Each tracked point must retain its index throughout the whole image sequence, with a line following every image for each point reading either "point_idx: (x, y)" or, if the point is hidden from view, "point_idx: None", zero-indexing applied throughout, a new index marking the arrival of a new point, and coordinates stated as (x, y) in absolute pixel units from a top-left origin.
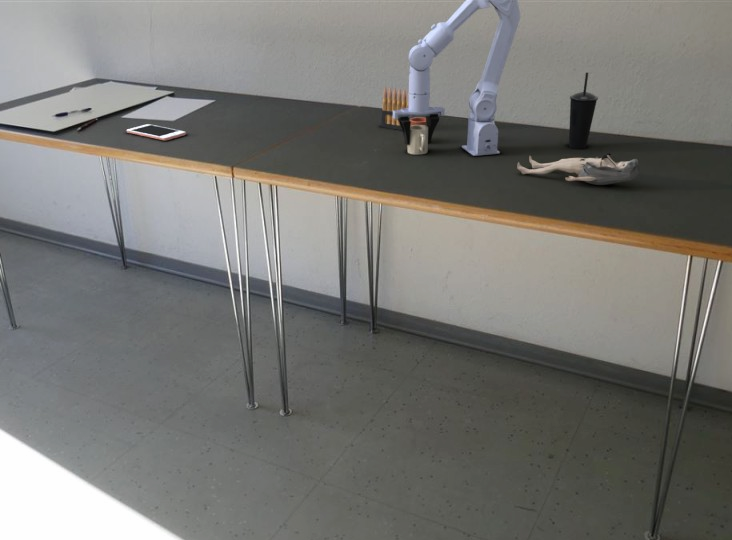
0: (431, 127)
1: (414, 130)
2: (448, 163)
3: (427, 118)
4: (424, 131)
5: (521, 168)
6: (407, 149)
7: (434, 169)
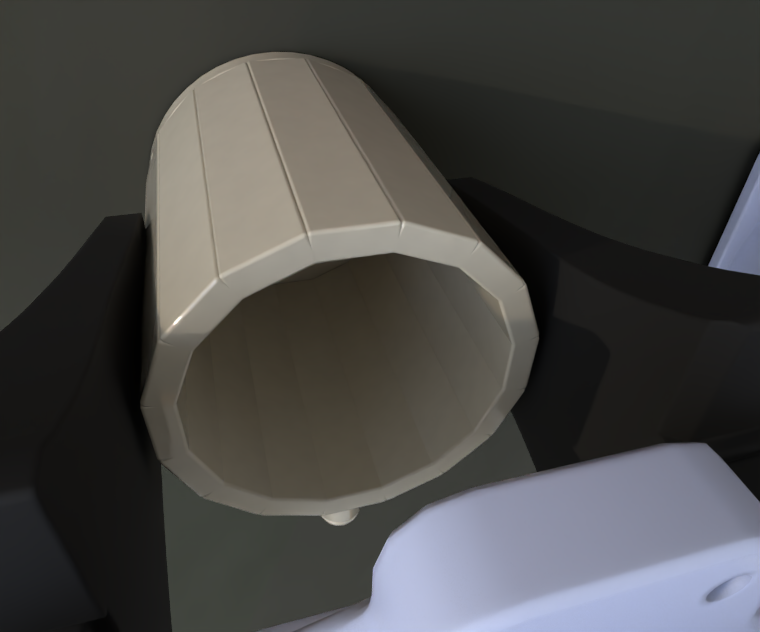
0: (539, 445)
1: (245, 502)
2: (423, 484)
3: (639, 413)
4: (400, 465)
5: None
6: (146, 191)
7: (289, 572)
